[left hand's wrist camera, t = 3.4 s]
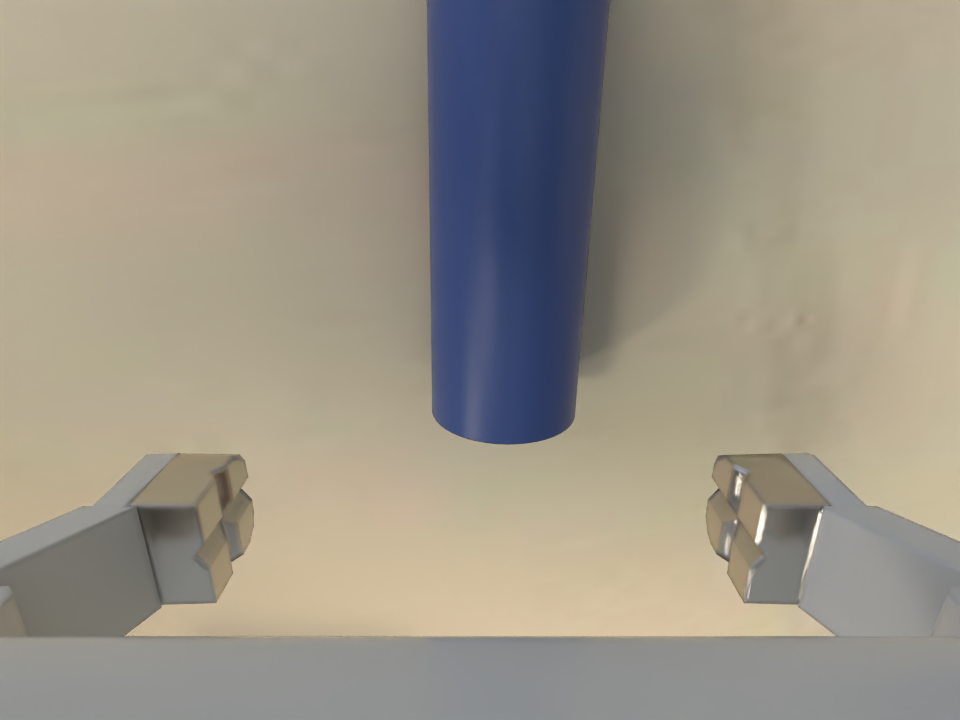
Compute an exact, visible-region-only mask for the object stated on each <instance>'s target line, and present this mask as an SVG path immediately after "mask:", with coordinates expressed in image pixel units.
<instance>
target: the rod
mask: <svg viewBox="0 0 960 720" xmlns="http://www.w3.org/2000/svg"><path fill="white" fill-rule="evenodd" d="M609 2H610V0H427V33H428V111H429V189H430V266H431V344H432V412H433V416H434V418H435V419H436V421H437V422H438V423H439V424H440V425H441V426H442V427H443V428H445V429H446V430H448V431H450V432H451V433H453V434H456V435H458V436H461V437H464V438H467V439H470V440H474V441H479V442H484V443H492V444H525V443H532V442H538V441H542V440H546V439H549V438H552V437H554V436H556V435H558V434H560V433H562V432H563V431H565V430H566V429H567V428H568V427H570V425H571V424H572V422H573V420H574V418H575V406H576V394H577V382H578V371H579V359H580V347H581V335H582V323H583V311H584V299H585V287H586V276H587V264H588V252H589V240H590V228H591V216H592V204H593V192H594V180H595V169H596V157H597V145H598V133H599V121H600V109H601V97H602V85H603V74H604V62H605V50H606V38H607V26H608V14H609Z"/></svg>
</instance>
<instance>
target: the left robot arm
mask: <svg viewBox="0 0 960 720" xmlns="http://www.w3.org/2000/svg"><path fill="white" fill-rule="evenodd" d="M247 478H248V473H247V469H246V464H245V460H244V459H243V458H242V457H241V456H240V455H239V454H188V453H183V454H180V453H154V454H147V455H146V456H145V457H144V458H143V459H142V460H141V461H139V462H138V463H137V464H136V465H135V466H134V467H133V468H132V469H131V470H130V471H129V472H128V473H127V474H126V475H125V476H124V477H123V478H122V479H121V480H120V481H119V482H118V483H117V484H115V485H114V486H113V487H112V488H111V489H110V490H109V491H108V492H107V493H106V494H105V495H104V496H103V497H102V498H101V499H100V500H99V501H98V502H97V503H96V504H95V505H94V506H83V507H80V508H78V509H76V510H73V511H71V512H69V513H66V514H64V515H62V516H59V517H57V518H54V519H52V520H50V521H47V522H45V523H43V524H40V525H38V526H36V527H33V528H31V529H29V530H26V531H24V532H22V533H19V534H17V535H15V536H12V537H10V538H8V539H5V540H3V541H1V542H0V720H960V542H959V541H957V540H955V539H952V538H950V537H948V536H945V535H943V534H941V533H938V532H936V531H934V530H931V529H929V528H927V527H924V526H922V525H919V524H917V523H915V522H912V521H910V520H908V519H905V518H903V517H901V516H898V515H896V514H894V513H891V512H889V511H887V510H884V509H882V508H880V507H877V506H866V505H865V504H864V503H863V502H862V501H861V500H860V499H859V498H858V497H857V496H856V495H855V494H854V493H853V492H852V491H851V490H850V489H849V488H848V487H847V486H846V485H845V484H844V483H843V482H842V481H840V480H839V479H838V478H837V477H836V476H835V475H834V474H833V473H832V472H831V471H830V470H829V469H828V468H827V467H826V466H825V465H824V464H823V463H822V462H821V461H820V460H819V459H818V458H817V457H816V456H814V455H812V454H809V453H787V454H743V455H720V456H718V457H717V459H716V461H715V463H714V468H713V473H712V478H713V480H714V481H715V483H716V484H717V486H718V487H719V489H718V490H717V491H716V492H715V493H714V494H713V495H712V496H711V497H710V498H709V499H708V503H707V511H706V523H707V533H708V536H709V539H710V542H711V545H712V547H713V549H714V550H715V552H716V554H717V555H719V556H720V557H722V558H723V559H725V560H726V561H728V562H729V565H728V570H727V574H728V576H729V577H730V579H731V581H732V583H733V585H734V586H735V588H736V590H737V592H738V593H739V595H740V597H741V599H742V600H743V602H744V603H760V604H797V605H799V606H798V607H799V608H800V609H802V610H803V611H804V612H806V613H807V614H808V615H810V616H811V617H812V618H813V619H815V620H816V621H817V622H819V623H820V624H821V625H823V626H824V627H825V628H826V629H828V630H829V631H830V632H832V633H833V634H834V635H836V636H125V635H126V634H127V633H129V632H130V631H131V630H132V629H134V628H135V627H136V626H138V625H139V624H140V623H142V622H143V621H144V620H146V619H147V618H148V617H149V616H151V615H152V614H153V613H155V612H156V611H157V610H159V609H160V608H161V605H163V604H199V603H216V602H217V600H218V599H219V597H220V595H221V593H222V592H223V590H224V588H225V586H226V585H227V583H228V581H229V579H230V577H231V576H232V574H233V570H232V565H231V562H232V561H234V560H235V559H237V558H238V557H240V556H242V555H243V554H244V552H245V550H246V549H247V547H248V545H249V543H250V539H251V535H252V531H253V527H254V509H253V503H252V499H251V498H250V497H249V496H248V495H247V494H246V493H245V492H244V491H243V490H242V489H241V488H242V486H243V484H244V483H245V481H246V480H247Z"/></svg>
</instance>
